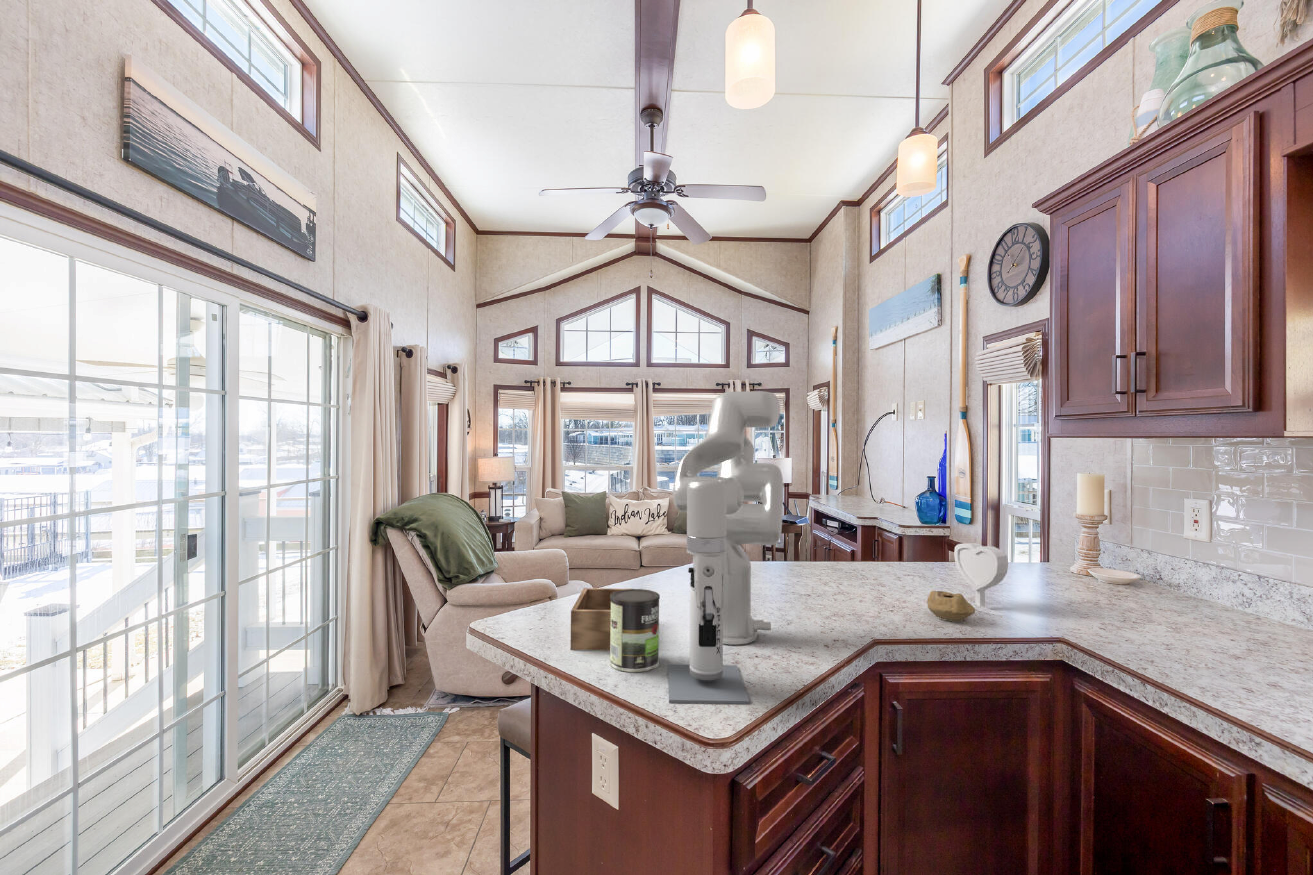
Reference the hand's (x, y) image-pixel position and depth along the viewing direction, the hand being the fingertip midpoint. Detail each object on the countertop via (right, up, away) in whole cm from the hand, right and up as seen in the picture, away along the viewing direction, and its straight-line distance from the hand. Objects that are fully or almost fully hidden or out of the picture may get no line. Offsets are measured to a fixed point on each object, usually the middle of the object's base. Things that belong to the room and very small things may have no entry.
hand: (705, 638), depth 105 cm
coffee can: (-14, -9, +10) cm, 19 cm away
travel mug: (0, -7, 0) cm, 7 cm away
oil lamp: (+68, -10, +43) cm, 81 cm away
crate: (-22, -9, +27) cm, 36 cm away
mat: (0, -8, 0) cm, 8 cm away
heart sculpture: (+83, -11, +52) cm, 98 cm away
